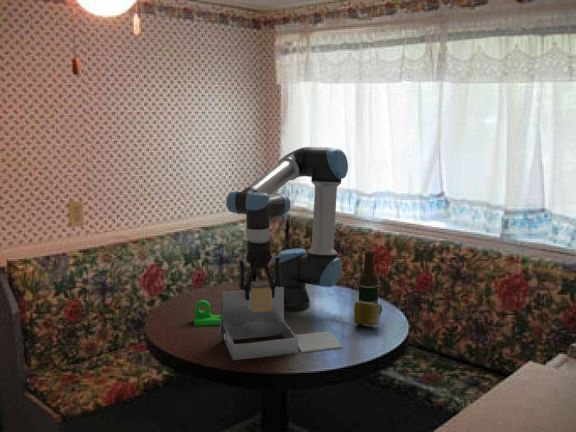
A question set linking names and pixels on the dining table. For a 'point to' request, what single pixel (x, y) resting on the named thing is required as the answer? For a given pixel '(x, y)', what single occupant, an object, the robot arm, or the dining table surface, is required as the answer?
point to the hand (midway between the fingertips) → (260, 307)
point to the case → (255, 327)
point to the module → (261, 297)
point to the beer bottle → (368, 281)
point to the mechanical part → (205, 315)
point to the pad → (317, 342)
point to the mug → (367, 313)
